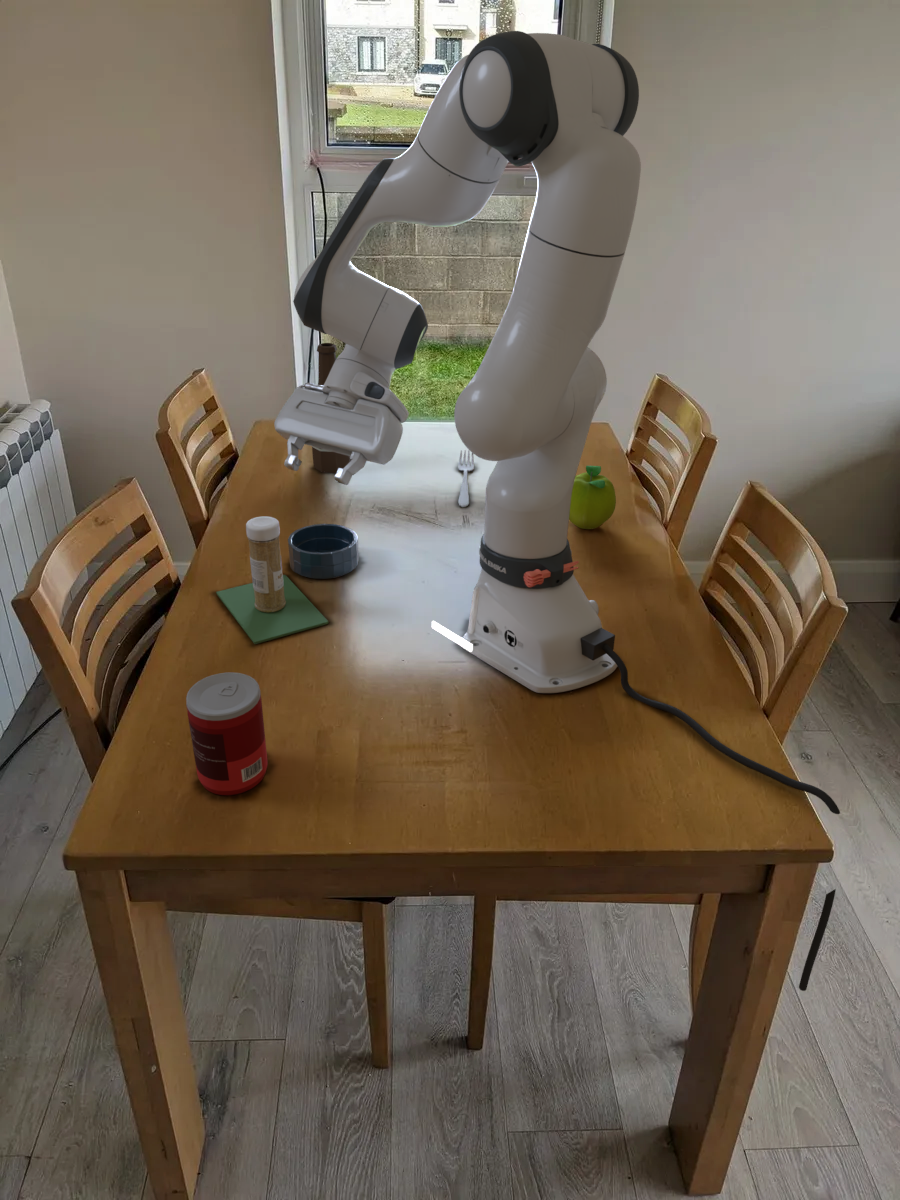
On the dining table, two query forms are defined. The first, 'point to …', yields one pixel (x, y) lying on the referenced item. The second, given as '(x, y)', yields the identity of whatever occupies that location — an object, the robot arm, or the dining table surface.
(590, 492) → the fruit
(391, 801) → the dining table surface
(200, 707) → the canned food
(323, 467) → the beer bottle
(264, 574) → the sprinkles bottle
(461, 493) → the fork
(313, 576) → the dark blue bowl
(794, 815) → the dining table surface
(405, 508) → the dining table surface
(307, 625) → the green mat
